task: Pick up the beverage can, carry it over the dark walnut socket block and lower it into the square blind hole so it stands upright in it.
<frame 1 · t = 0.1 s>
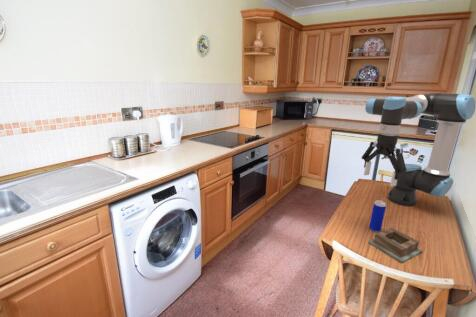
hand: (379, 180, 113), 28 cm above the table, fingers open, 13 cm apart
beverage can: (374, 229, 124), on the table
socket block: (394, 247, 110), on the table
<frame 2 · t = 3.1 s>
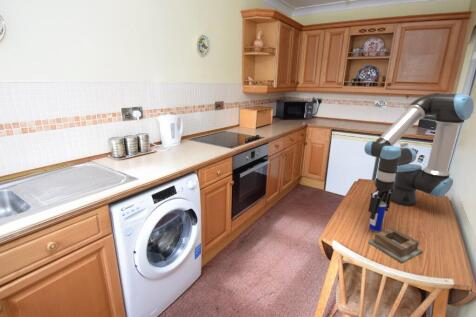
hand: (376, 222, 122), 4 cm above the table, fingers closed on beverage can, 5 cm apart
beverage can: (374, 229, 124), on the table, touching gripper
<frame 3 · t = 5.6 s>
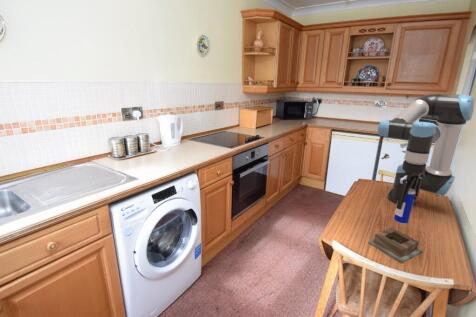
hand: (402, 213, 105), 17 cm above the table, fingers closed on beverage can, 5 cm apart
beverage can: (400, 221, 106), point 13 cm above the table, touching gripper
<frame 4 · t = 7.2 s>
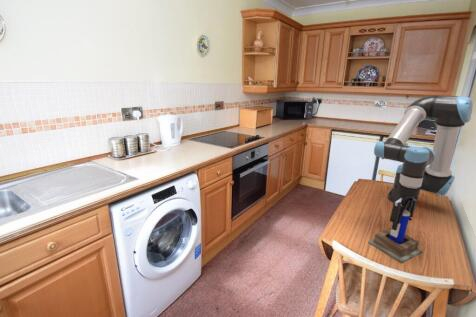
hand: (397, 233, 108), 7 cm above the table, fingers closed on beverage can, 5 cm apart
beverage can: (395, 241, 109), point 3 cm above the table, touching gripper
when the fingers open (6 cm above the table, at t = 8.1 s): beverage can drops 1 cm, resting on socket block.
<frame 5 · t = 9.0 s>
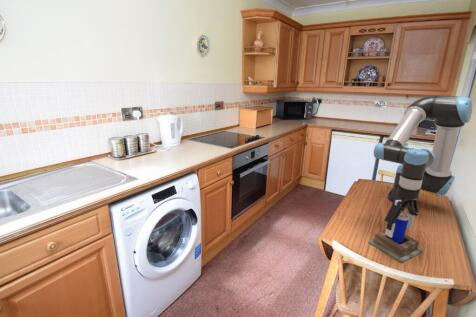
hand: (398, 231, 108), 8 cm above the table, fingers open, 13 cm apart
beverage can: (394, 245, 110), point 1 cm above the table, touching socket block
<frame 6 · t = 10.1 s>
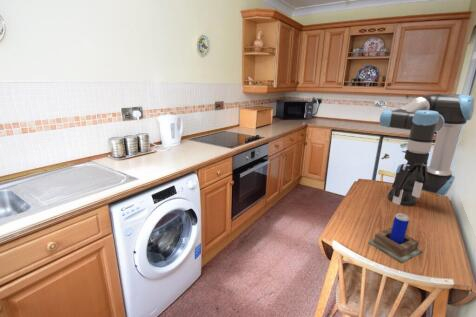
hand: (406, 199, 103), 23 cm above the table, fingers open, 13 cm apart
nothing on the table moved.
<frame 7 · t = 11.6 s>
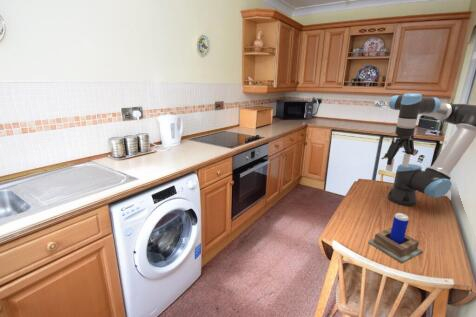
hand: (397, 168, 126), 28 cm above the table, fingers open, 13 cm apart
nothing on the table moved.
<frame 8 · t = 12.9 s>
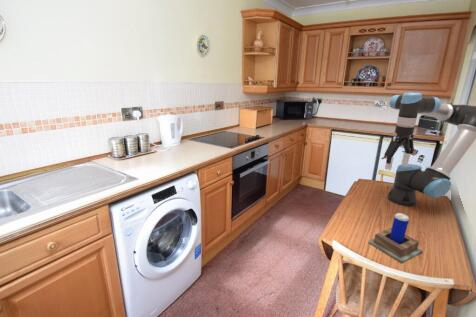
hand: (396, 167, 126), 29 cm above the table, fingers open, 13 cm apart
nothing on the table moved.
at the end: beverage can 0.1 cm off-centre on the socket block, point 0.8 cm above the socket block's base; beverage can tilted 1°; the gripper is holding nothing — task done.
